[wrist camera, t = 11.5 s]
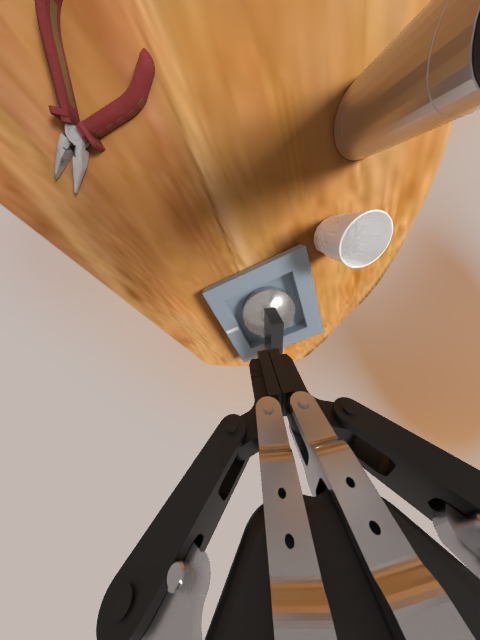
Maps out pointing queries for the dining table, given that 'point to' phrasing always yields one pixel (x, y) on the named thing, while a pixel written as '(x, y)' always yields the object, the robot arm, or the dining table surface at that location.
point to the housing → (276, 271)
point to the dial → (269, 314)
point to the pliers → (76, 131)
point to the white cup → (354, 237)
